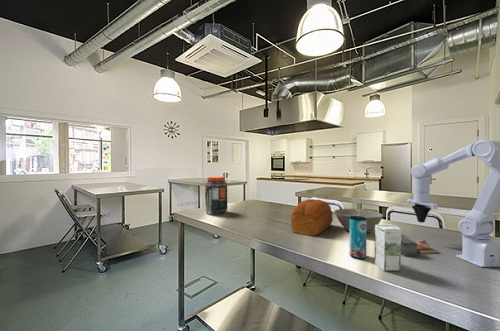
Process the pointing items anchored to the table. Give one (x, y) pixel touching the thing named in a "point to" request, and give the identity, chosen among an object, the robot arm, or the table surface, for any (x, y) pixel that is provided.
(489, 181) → the robot arm
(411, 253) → the panel
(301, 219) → the bread
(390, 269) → the milk carton
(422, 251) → the pintle plate
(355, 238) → the beverage can
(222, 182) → the supplement tub
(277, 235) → the table surface
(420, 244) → the link
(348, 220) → the ceramic bowl
